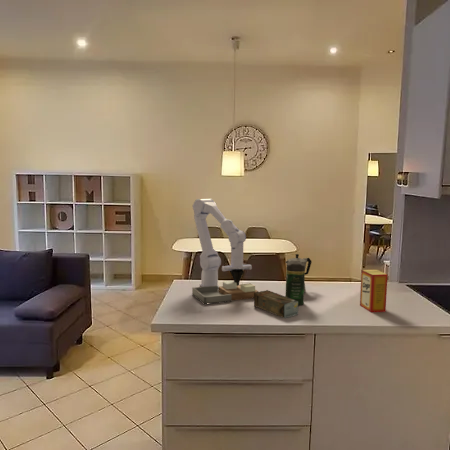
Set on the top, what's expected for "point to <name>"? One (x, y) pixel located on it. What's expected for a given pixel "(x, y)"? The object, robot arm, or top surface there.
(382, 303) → the baking soda box
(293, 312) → the beverage carton
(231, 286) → the tile
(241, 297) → the walnut board
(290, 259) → the coffeepot
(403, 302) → the top surface
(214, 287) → the tray
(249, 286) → the tile
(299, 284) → the coffee jar
